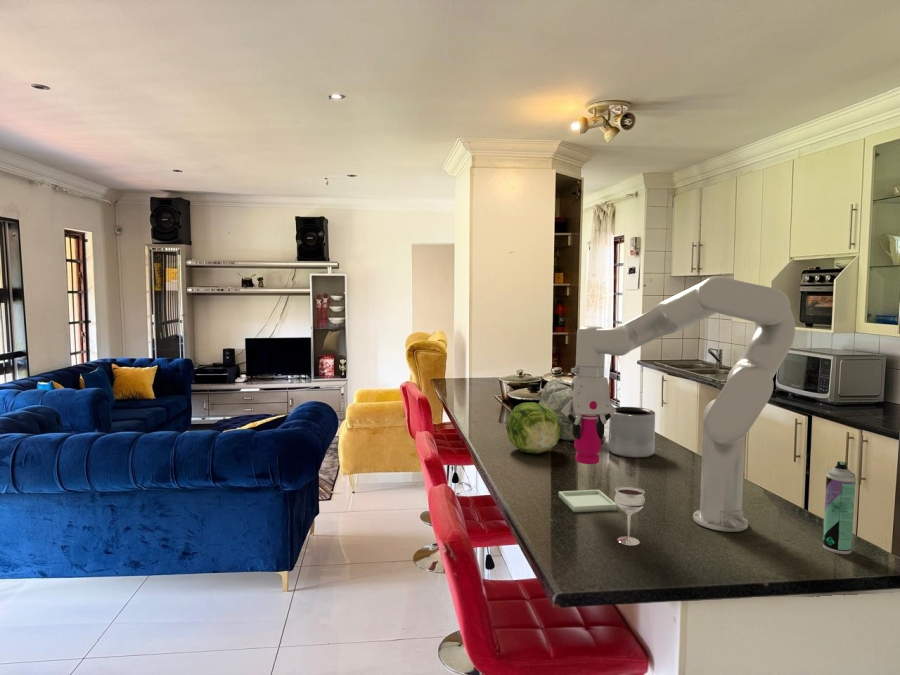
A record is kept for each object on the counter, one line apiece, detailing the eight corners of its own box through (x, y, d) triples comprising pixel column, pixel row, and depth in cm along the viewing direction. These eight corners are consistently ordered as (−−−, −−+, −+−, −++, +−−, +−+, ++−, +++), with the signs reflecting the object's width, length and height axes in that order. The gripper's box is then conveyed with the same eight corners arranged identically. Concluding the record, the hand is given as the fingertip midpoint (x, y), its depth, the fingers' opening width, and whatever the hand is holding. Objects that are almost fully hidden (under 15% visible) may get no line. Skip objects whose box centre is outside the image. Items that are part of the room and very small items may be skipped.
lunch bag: (605, 440, 232) (606, 385, 231) (565, 444, 226) (566, 387, 224) (569, 426, 257) (570, 376, 255) (532, 429, 250) (533, 378, 249)
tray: (616, 509, 157) (617, 504, 157) (574, 512, 155) (574, 506, 155) (598, 494, 169) (598, 489, 168) (558, 496, 167) (558, 491, 167)
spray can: (840, 543, 136) (845, 458, 135) (857, 554, 131) (862, 465, 129) (817, 544, 136) (821, 459, 135) (833, 554, 131) (838, 466, 129)
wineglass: (609, 535, 140) (610, 485, 139) (636, 534, 141) (638, 485, 140) (619, 547, 134) (620, 495, 133) (648, 546, 134) (650, 495, 133)
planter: (616, 459, 205) (617, 415, 204) (602, 447, 221) (603, 406, 220) (661, 459, 206) (662, 415, 205) (644, 447, 222) (646, 406, 221)
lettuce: (519, 464, 200) (530, 414, 197) (496, 438, 222) (506, 393, 219) (569, 468, 206) (581, 419, 203) (543, 442, 228) (552, 398, 225)
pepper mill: (601, 465, 157) (604, 391, 155) (573, 463, 158) (576, 390, 157) (600, 458, 164) (602, 387, 162) (573, 456, 165) (575, 386, 164)
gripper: (564, 374, 154) (562, 442, 155) (626, 373, 157) (623, 440, 158) (554, 370, 161) (553, 435, 163) (614, 370, 164) (611, 433, 165)
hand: (588, 437), depth 160 cm, fingers closed on pepper mill, 5 cm apart
